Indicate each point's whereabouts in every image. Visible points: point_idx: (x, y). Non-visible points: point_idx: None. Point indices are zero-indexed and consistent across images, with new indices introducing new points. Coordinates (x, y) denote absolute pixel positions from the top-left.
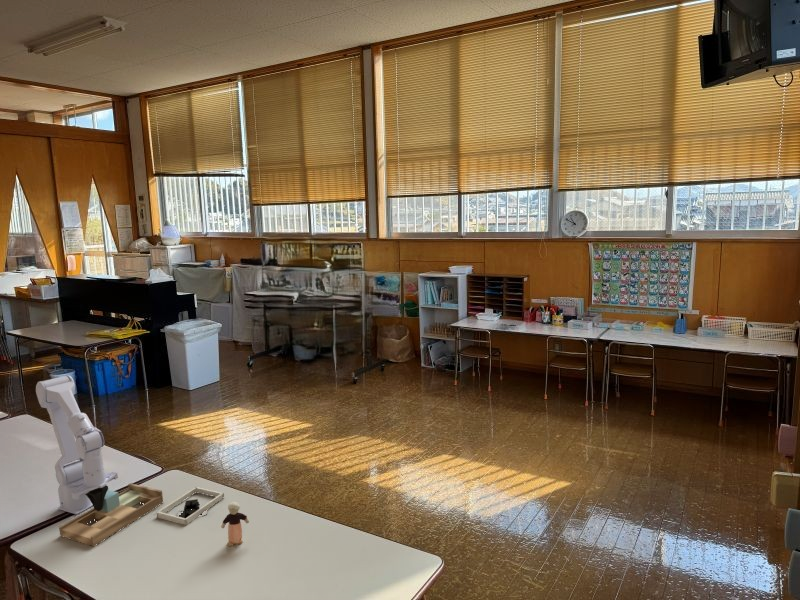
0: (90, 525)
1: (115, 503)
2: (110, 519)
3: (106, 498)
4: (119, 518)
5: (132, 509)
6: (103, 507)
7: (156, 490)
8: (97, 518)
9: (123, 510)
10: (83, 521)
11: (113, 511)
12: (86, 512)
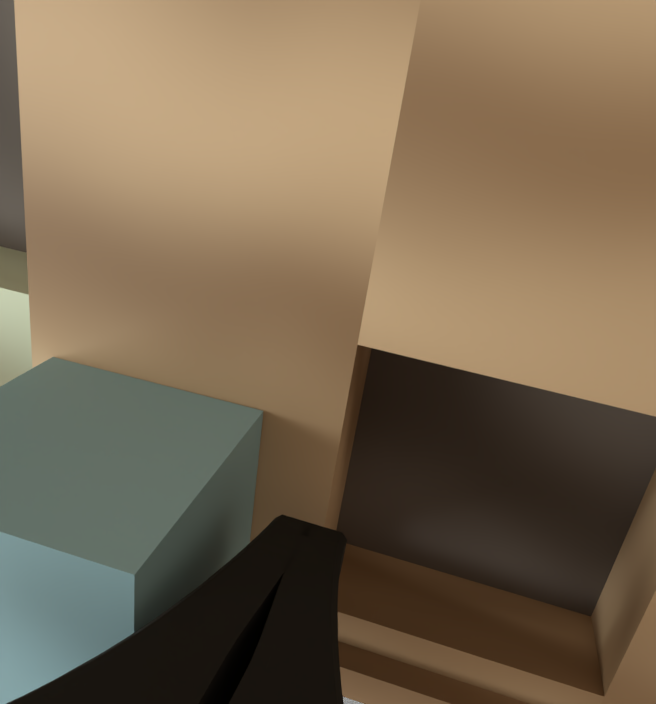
0: (501, 499)
1: (73, 405)
2: (459, 199)
3: (111, 585)
4: (390, 29)
5: (61, 18)
6: (228, 527)
7: None
8: (340, 505)
9: (142, 176)
10: (495, 624)
11: (217, 336)
12: (372, 693)
